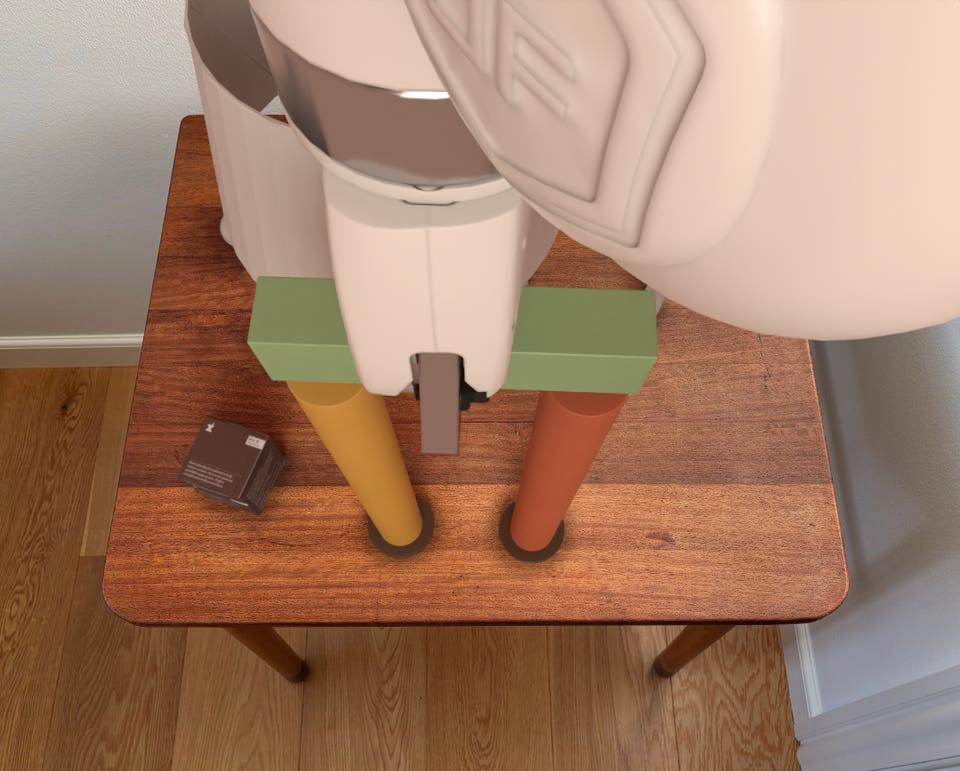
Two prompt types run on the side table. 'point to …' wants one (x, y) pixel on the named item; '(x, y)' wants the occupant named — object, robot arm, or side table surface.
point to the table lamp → (271, 154)
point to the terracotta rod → (555, 469)
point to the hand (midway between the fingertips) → (455, 354)
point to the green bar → (535, 351)
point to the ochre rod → (369, 462)
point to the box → (232, 465)
